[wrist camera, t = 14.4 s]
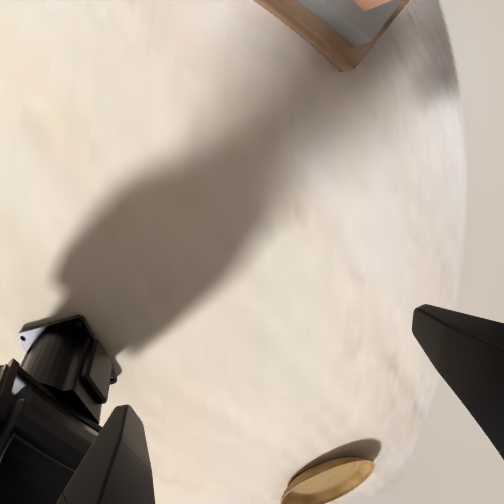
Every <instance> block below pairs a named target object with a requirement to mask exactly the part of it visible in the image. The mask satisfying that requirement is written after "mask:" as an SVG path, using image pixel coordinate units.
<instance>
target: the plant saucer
mask: <svg viewBox="0 0 504 504" xmlns="http://www.w3.org/2000/svg"><path fill="white" fill-rule="evenodd" d="M374 467H375V465H374V463H373V462H372V461H370V460H366V459H362V458H357V457H340V458H336V459H332V460H329V461H326V462H323V463H321V464H318V465H316V466H314V467H312V468H310V469H308V470H306V471H305V472H303V473H301V474H300V475H299V476H297V477H296V478H295V479H294V480H293V481H292V482H291V483H290V484H289V486H288V487H287V489H286V490H285V492H284V494H283V496H282V498H281V501H280V504H325V503H328V502H330V501H333V500H335V499H337V498H339V497H341V496H343V495H345V494H347V493H349V492H350V491H352V490H353V489H355V488H356V487H358V486H359V485H360V484H361V483H363V482H364V481H365V480H366V479H367V478H368V477H369V476H370V475H371V473H372V472H373V470H374Z"/></svg>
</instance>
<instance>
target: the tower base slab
mask: <svg viewBox="0 0 504 504" xmlns="http://www.w3.org/2000/svg"><path fill="white" fill-rule="evenodd" d="M253 1H255V2H256V3H258V4H259V5H260V6H262V7H263V8H265V9H266V10H267V11H269V12H270V13H272V14H273V15H274V16H276V17H277V18H278V19H280V20H281V21H282V22H284V23H285V24H286V25H287V26H289V27H290V28H291V29H293V30H294V31H295V32H296V33H298V34H299V35H300V36H301V37H302V38H304V39H305V40H306V41H307V42H308V43H310V44H311V45H312V46H313V47H314V48H315V49H317V50H318V51H319V52H320V53H321V54H322V55H323V56H325V57H326V58H327V59H328V60H329V61H330V62H331V63H332V64H333V65H335V66H336V67H337V68H338V69H339V70H340V71H341V72H343V71H346V70H350V69H354V68H355V67H356V66H357V64H358V63H359V62H360V61H361V59H362V58H363V57H364V56H365V54H366V53H367V52H368V51H369V49H370V48H371V47H372V46H373V44H374V43H375V42H376V41H377V39H378V38H379V37H380V36H381V34H382V33H383V32H384V31H385V30H386V28H387V27H388V26H389V25H390V23H391V22H392V21H393V20H394V18H395V17H396V16H397V15H398V14H399V12H400V11H401V10H402V9H403V8H404V6H405V5H406V4H407V3H408V2H409V0H402V1H401V3H400V4H399V5H398V7H397V8H396V9H395V11H394V12H393V13H392V15H391V16H390V17H389V19H388V20H387V21H386V23H385V24H384V25H383V27H382V28H381V29H380V31H379V32H378V33H377V35H376V36H375V37H374V39H373V40H372V41H371V42H368V43H365V44H362V45H359V46H357V47H353V46H352V45H351V44H350V43H349V42H348V41H347V40H345V39H344V38H343V37H342V36H341V35H340V34H339V33H338V32H336V31H335V30H334V29H333V28H332V27H330V26H329V25H328V24H327V23H326V22H324V21H323V20H322V19H321V18H319V17H318V16H317V15H316V14H314V13H313V12H312V11H311V10H309V9H308V8H307V7H305V6H304V5H303V4H301V3H300V2H299V1H297V0H253Z"/></svg>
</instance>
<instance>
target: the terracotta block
mask: <svg viewBox="0 0 504 504" xmlns="http://www.w3.org/2000/svg"><path fill="white" fill-rule="evenodd" d="M353 1H354V2H355V3H356V4H357V5H358V6H359V7H360V8H361V9H362V10H363V11H364V12H366V11H368V10H370V9H372V8H375V7H377V6H379V5H382V4H384V3H386V2H389V1H391V0H353Z"/></svg>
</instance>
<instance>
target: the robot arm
mask: <svg viewBox="0 0 504 504" xmlns="http://www.w3.org/2000/svg"><path fill="white" fill-rule="evenodd" d="M77 321H80V322H81V324H79V323H77ZM412 332H413V335H414V336H415V338H416V339H417V341H418V342H419V344H420V345H421V347H422V348H423V350H424V352H425V353H426V355H427V356H428V358H429V359H430V361H431V362H432V364H433V365H434V367H435V368H436V370H437V371H438V372H439V374H440V375H441V376H442V377H443V379H444V380H445V381H446V382H447V384H448V385H449V386H450V387H451V388H452V390H453V391H454V392H455V394H456V395H457V396H458V398H459V399H460V400H461V402H462V403H463V404H464V405H465V407H466V408H467V409H468V411H469V412H470V413H471V415H472V416H473V417H474V419H475V420H476V421H477V423H478V424H479V425H480V427H481V428H482V430H483V431H484V432H485V434H486V435H487V436H488V438H489V439H490V441H491V442H492V443H493V445H494V446H495V448H496V449H497V450H498V452H499V454H500V455H501V456H502V458H503V459H504V323H500V322H496V321H492V320H488V319H484V318H479V317H476V316H472V315H468V314H464V313H460V312H456V311H452V310H448V309H444V308H440V307H436V306H432V305H428V304H423V305H421V306H419V307H417V308H416V309H415V310H414V313H413V322H412ZM23 336H24V337H25V338H24V337H23ZM18 339H19V341H20V342H21V344H22V346H23V347H24V349H25V351H26V352H27V353H26V355H25V357H24V359H23V361H22V363H21V365H20V364H19V363H18V362H17V361H16V360H15V359H14V358H13V359H12V360H11V361H10V362H9V363H8V364H6V365H2V366H1V365H0V504H155V497H154V488H153V477H152V469H151V463H150V459H149V453H148V448H147V443H146V437H145V431H144V426H143V423H142V421H141V420H140V418H139V417H138V416H137V414H136V413H135V411H134V410H133V409H132V407H131V406H130V405H122V406H117V407H116V408H115V409H114V410H113V412H112V413H111V415H110V417H109V418H108V420H107V421H106V423H105V424H104V426H103V427H101V426H100V425H98V424H99V421H100V413H101V406H102V404H104V403H106V401H107V398H108V391H109V385H110V384H114V383H116V382H117V374H116V373H115V371H114V370H113V368H112V363H111V361H110V359H109V358H108V356H107V354H106V352H105V351H104V349H103V347H102V345H101V344H100V342H99V340H97V339H96V338H95V337H94V335H93V333H92V331H91V329H90V327H89V326H88V324H87V322H86V320H85V318H84V317H83V316H81V315H75V316H72V317H68V318H65V319H61V320H57V321H54V322H50V323H47V324H43V325H39V326H36V327H32V328H28V329H24V330H21V331H20V332H19V334H18ZM19 365H20V366H19ZM111 377H112V378H111Z"/></svg>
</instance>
